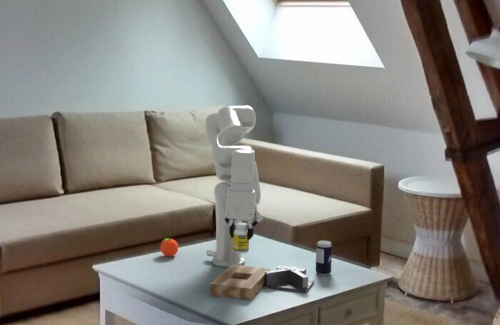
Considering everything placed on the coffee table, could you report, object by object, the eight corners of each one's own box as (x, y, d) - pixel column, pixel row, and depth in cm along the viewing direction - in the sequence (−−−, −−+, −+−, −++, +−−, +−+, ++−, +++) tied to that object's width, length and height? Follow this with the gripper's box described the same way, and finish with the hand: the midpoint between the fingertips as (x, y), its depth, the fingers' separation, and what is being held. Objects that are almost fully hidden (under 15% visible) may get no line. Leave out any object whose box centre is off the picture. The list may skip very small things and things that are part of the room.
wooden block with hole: (210, 295, 250) (210, 283, 250) (231, 274, 271) (231, 264, 270) (250, 300, 246) (251, 288, 245) (269, 279, 267) (269, 268, 266)
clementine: (154, 256, 292) (154, 238, 291) (166, 251, 297) (166, 234, 296) (170, 259, 287) (170, 242, 286) (181, 255, 293) (181, 238, 292)
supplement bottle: (237, 254, 253) (237, 226, 251) (230, 250, 258) (230, 222, 256) (251, 252, 255) (252, 224, 254) (244, 248, 260) (244, 221, 258)
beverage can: (330, 276, 271) (331, 245, 268) (314, 275, 272) (315, 243, 270) (331, 271, 276) (332, 240, 274) (316, 270, 277) (317, 239, 275)
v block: (261, 287, 258) (261, 273, 257) (270, 277, 269) (270, 264, 268) (306, 293, 254) (307, 279, 253) (313, 282, 264) (314, 269, 263)
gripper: (214, 186, 251) (214, 238, 255) (263, 190, 246) (261, 243, 250) (222, 182, 258) (221, 232, 262) (269, 186, 253) (268, 237, 257)
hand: (241, 237), depth 256 cm, fingers closed on supplement bottle, 5 cm apart
